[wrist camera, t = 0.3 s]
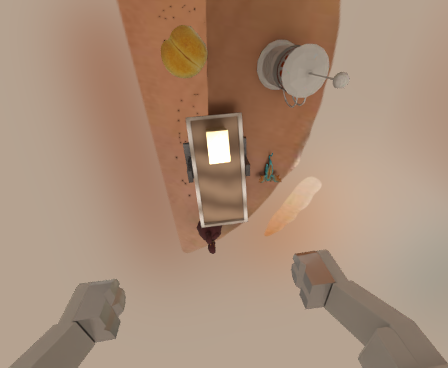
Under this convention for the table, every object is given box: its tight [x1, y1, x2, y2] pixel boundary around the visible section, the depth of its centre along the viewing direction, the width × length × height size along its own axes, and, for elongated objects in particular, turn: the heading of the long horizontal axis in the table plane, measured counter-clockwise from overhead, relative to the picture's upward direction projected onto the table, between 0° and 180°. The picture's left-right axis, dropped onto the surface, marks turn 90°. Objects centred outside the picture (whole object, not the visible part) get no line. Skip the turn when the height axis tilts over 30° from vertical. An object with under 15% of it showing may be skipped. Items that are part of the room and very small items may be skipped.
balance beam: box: [186, 112, 248, 228], centre depth 50 cm, size 26×12×3 cm, turn 4°
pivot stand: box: [183, 137, 250, 183], centre depth 54 cm, size 10×16×9 cm, turn 94°
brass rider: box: [206, 127, 230, 164], centre depth 43 cm, size 6×4×7 cm, turn 4°
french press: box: [257, 40, 350, 108], centre depth 37 cm, size 10×12×25 cm
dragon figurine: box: [259, 153, 281, 183], centre depth 59 cm, size 6×7×8 cm
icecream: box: [197, 221, 222, 254], centre depth 61 cm, size 7×7×15 cm
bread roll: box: [161, 25, 208, 78], centre depth 42 cm, size 8×9×4 cm
